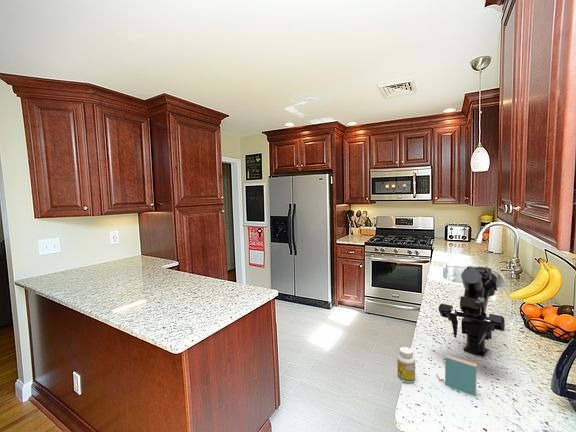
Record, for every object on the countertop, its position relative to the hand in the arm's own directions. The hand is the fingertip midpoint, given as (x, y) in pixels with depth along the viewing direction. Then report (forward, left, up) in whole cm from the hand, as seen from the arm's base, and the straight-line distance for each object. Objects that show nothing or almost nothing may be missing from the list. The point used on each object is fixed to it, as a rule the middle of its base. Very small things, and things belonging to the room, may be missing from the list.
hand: (466, 340), depth 92 cm
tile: (+9, +1, -12) cm, 15 cm away
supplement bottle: (+16, -13, -12) cm, 24 cm away
